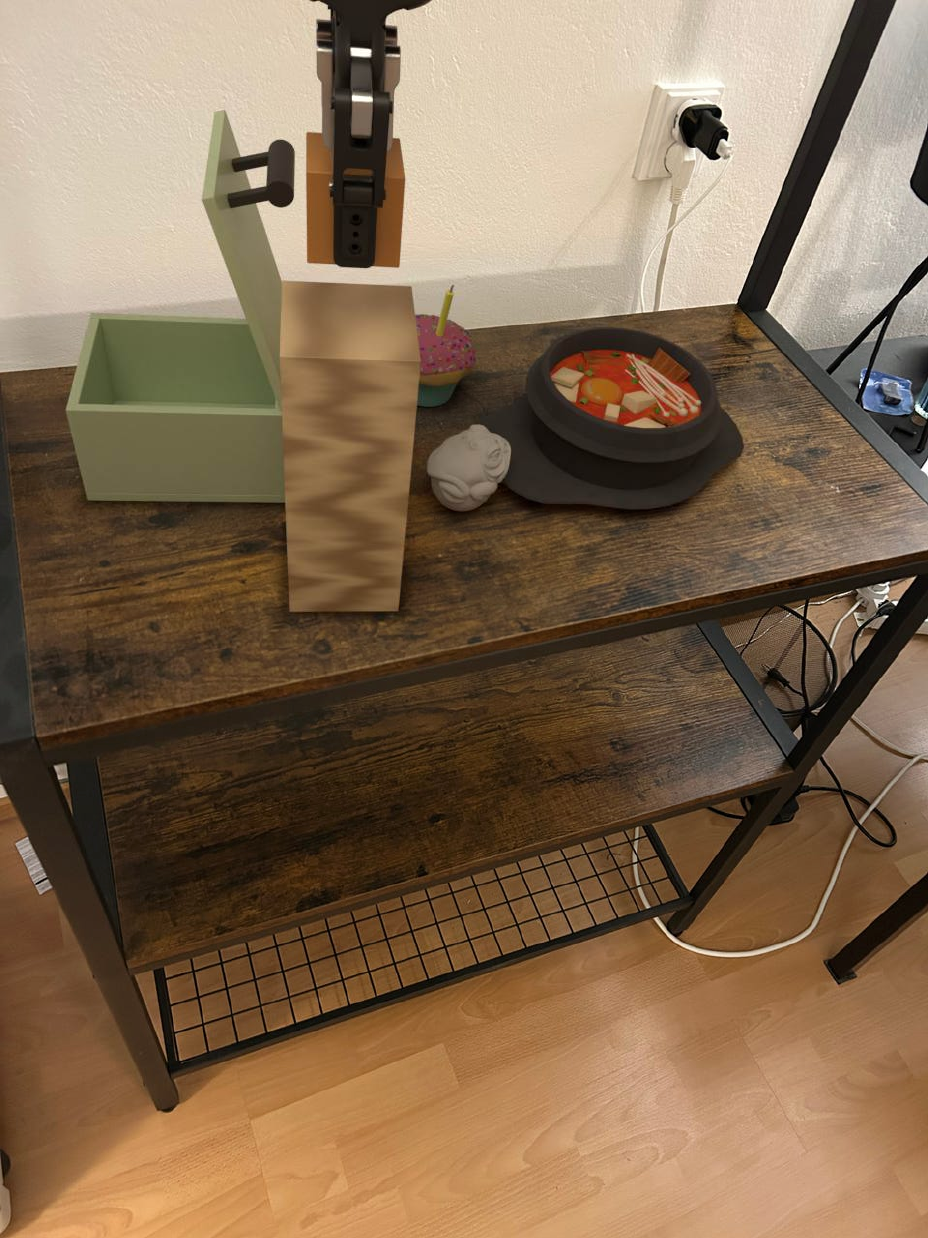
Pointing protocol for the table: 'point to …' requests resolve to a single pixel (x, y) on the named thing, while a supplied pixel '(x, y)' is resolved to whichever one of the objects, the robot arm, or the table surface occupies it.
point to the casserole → (615, 423)
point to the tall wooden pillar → (347, 441)
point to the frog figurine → (468, 468)
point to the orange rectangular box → (323, 208)
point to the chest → (175, 412)
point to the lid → (250, 232)
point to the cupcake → (442, 355)
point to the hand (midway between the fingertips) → (352, 238)
